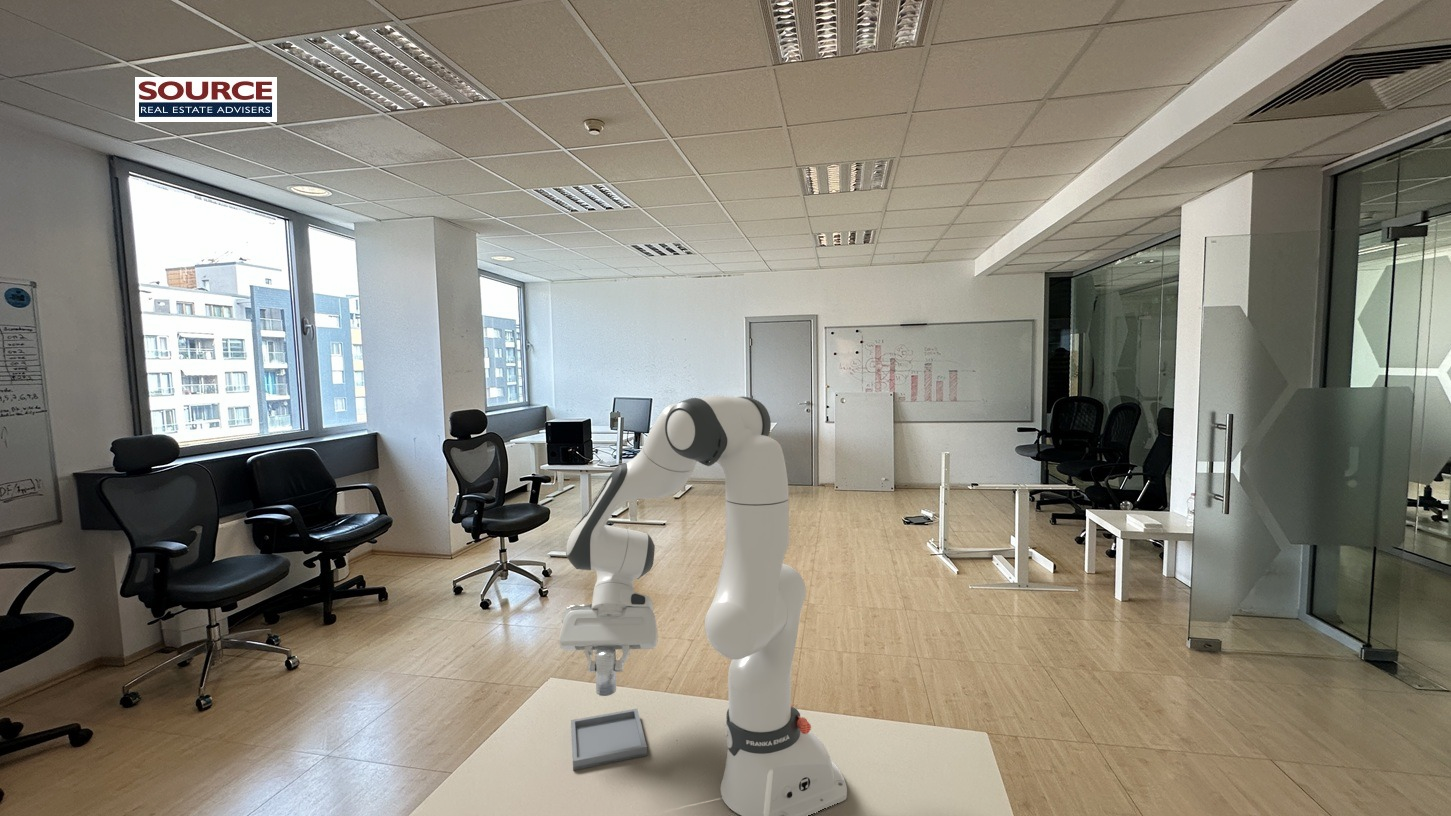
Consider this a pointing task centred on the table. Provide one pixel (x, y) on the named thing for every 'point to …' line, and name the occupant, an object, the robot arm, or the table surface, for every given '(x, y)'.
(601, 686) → the glossy grey cylinder
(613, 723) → the parts tray
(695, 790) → the table surface
